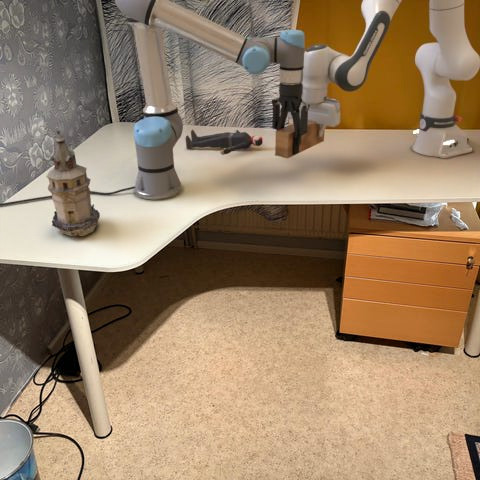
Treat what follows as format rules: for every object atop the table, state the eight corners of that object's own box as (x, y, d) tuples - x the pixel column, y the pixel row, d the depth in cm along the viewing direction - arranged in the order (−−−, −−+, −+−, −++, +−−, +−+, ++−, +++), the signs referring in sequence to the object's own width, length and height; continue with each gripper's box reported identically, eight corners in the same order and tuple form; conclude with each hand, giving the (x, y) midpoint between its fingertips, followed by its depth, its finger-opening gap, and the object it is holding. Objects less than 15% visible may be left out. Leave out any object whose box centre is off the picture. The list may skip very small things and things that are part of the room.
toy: (197, 123, 225) (267, 123, 219) (198, 137, 228) (268, 138, 222) (178, 143, 203) (256, 144, 197) (180, 159, 206) (257, 160, 200)
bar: (287, 158, 177) (288, 134, 173) (275, 155, 180) (275, 131, 176) (323, 141, 192) (325, 117, 188) (312, 138, 195) (313, 115, 191)
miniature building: (80, 214, 164) (63, 117, 149) (111, 225, 157) (96, 125, 142) (44, 231, 154) (22, 130, 140) (75, 244, 147) (55, 139, 133)
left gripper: (321, 84, 167) (317, 154, 179) (275, 76, 178) (273, 143, 189) (308, 88, 162) (304, 161, 174) (261, 80, 173) (260, 149, 184)
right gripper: (345, 97, 179) (342, 137, 186) (295, 88, 190) (293, 126, 197) (335, 101, 175) (332, 142, 182) (284, 92, 186) (283, 130, 193)
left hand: (288, 151), depth 181 cm, fingers closed on bar, 5 cm apart
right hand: (311, 134), depth 189 cm, fingers closed on bar, 5 cm apart
